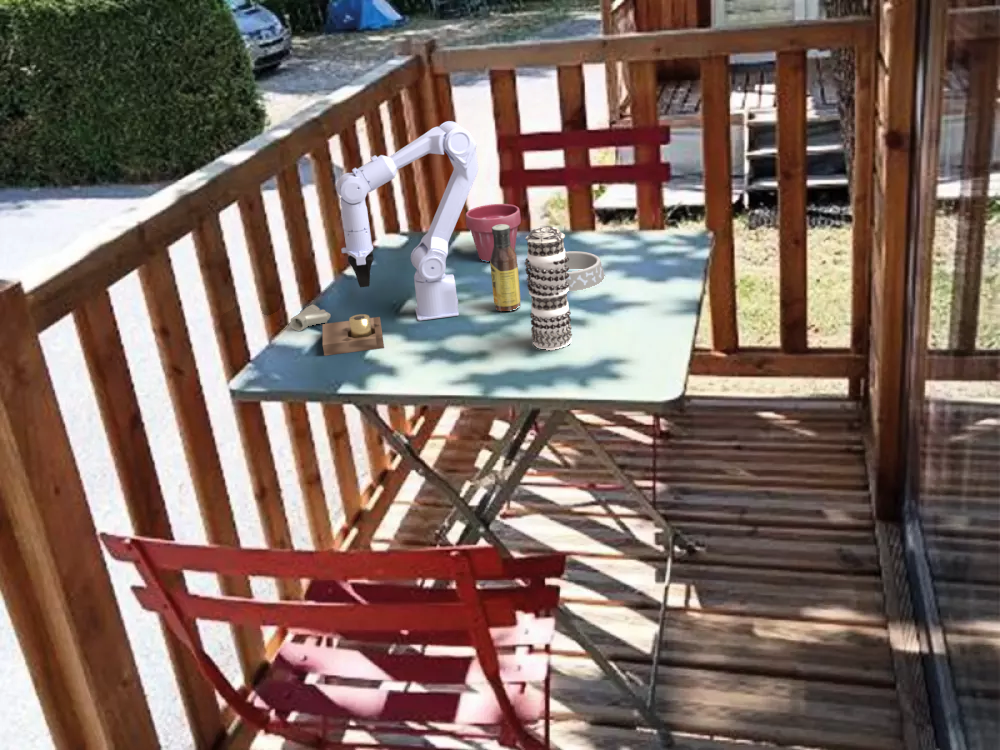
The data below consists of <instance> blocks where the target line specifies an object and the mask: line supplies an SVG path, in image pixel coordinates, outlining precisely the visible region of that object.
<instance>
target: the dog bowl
mask: <svg viewBox="0 0 1000 750" xmlns="http://www.w3.org/2000/svg"><path fill="white" fill-rule="evenodd" d="M565 252H566V253H565V256H567V257H568V258H569V261H568V262H566V263H564V264H565V265H566V266H568V267H569V269H583V270H578V271H572V272H566V273H568V274H569V277H568V278H567V279H565V281H566V282H568V283H569V286H568V288H569V291H577V290H583V289H586V288H590V287H592V286H595V285H597V284H599V283H600V282H602V280H603V279H604V276H605V277H606V274H605V271H604V269H603V264H602V261H601V259H600V257H599V256H597V254H593V253H591V252H586V251H579V250H578V251H577V250H576V251H572V250H571V251H570V250H569V251H565Z"/></svg>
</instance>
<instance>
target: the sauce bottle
mask: <svg viewBox="0 0 1000 750" xmlns="http://www.w3.org/2000/svg"><path fill="white" fill-rule="evenodd" d="M492 234H493V238H494V247H493V251H492V255H491V259H490V263H489V265H490V276H491V286H492V297H493V303H494V307H495V310H496V311H498V310H499V311H498V312H502V311H510V310H513V309H516V308H517V307H518V306H520V307H521V289H520V277H519V265H518V258H517V257H518V256H517V253H516V250H515V251H514V249H513V248H512V247H511V245H510V244H511V242H510V226H509V225H506V224H500V225H496V226H493V227H492ZM510 312H511V311H510Z"/></svg>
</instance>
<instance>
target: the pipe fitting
mask: <svg viewBox="0 0 1000 750" xmlns="http://www.w3.org/2000/svg"><path fill="white" fill-rule="evenodd" d="M331 317H332V316H331V313H329V312H328V311H326V310H325V309H320V308H319V306H317V305H315V304H313V303H312V304H311V305H309V306H306V307H305V308H304V309H303V310H301V312H299V313H297V315H295V316H293V317H291V318H290V327H291V329H293V330H294V331H296V330H300V331H299V332H301V331H303V330H305V329H306V328H308V326H309V327H313V326H312V325H314V326H317V325H316V324H320V325H322V324H321V323H325V324H328V321H329V320H330V318H331Z"/></svg>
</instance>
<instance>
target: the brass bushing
mask: <svg viewBox="0 0 1000 750" xmlns="http://www.w3.org/2000/svg"><path fill="white" fill-rule="evenodd" d="M370 318H371V317H370V315H369V314H363V313H361V314H359V313H358V314H355V315H352V316H351V317H349V320H348V321H350V328H351V335H352V338H362V337H369V336H371V335H372V332H371V325H370Z"/></svg>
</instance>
